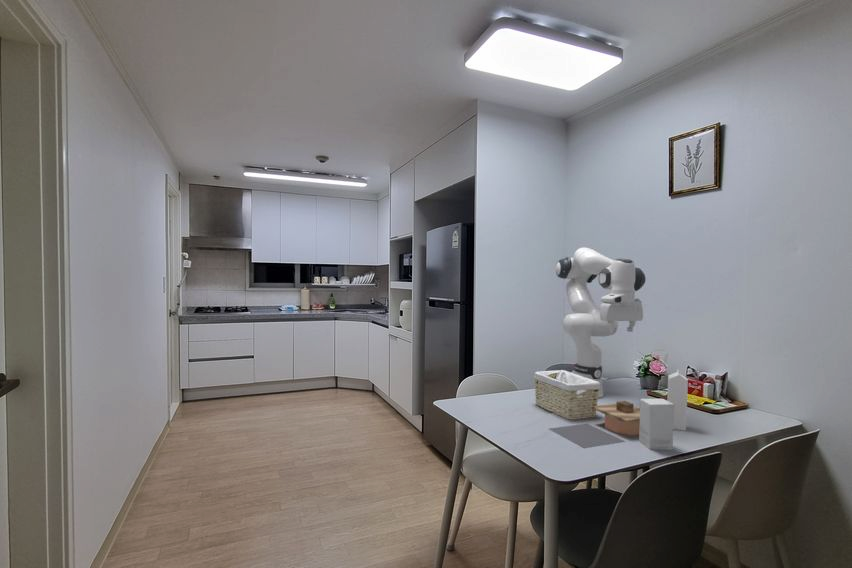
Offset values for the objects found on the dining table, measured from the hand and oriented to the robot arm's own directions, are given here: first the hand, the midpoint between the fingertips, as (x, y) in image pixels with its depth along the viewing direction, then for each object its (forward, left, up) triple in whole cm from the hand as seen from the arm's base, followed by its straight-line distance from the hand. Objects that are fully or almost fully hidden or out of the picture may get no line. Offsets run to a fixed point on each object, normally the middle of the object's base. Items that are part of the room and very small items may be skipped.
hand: (621, 331), depth 171 cm
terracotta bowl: (+14, -12, -34) cm, 39 cm away
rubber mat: (+15, -31, -34) cm, 48 cm away
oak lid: (+14, -12, -28) cm, 34 cm away
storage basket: (-10, -19, -34) cm, 41 cm away
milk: (+18, +10, -34) cm, 40 cm away
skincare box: (+30, -15, -34) cm, 48 cm away
